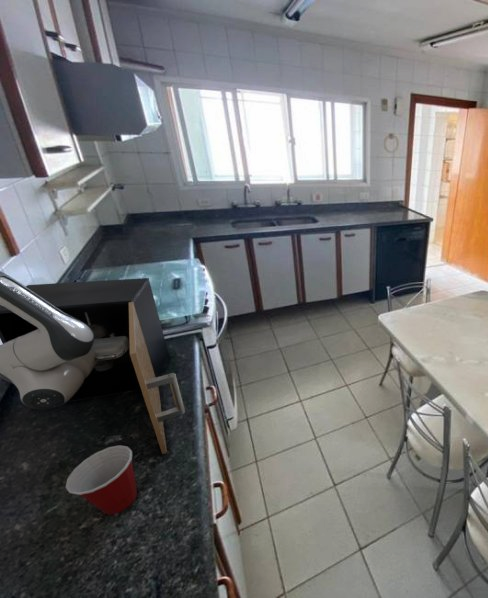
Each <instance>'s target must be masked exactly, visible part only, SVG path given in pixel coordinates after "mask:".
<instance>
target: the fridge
mask: <svg viewBox="0 0 488 598" xmlns="http://www.w3.org/2000/svg"><path fill="white" fill-rule="evenodd" d="M26 287H27V288H28V289H30V290H31V291H33V292H34V293H36V294H37V295H39V296H40V297H42V298H43V299H45V300H46V301H48V302H49V303H51V304H52V305H54V306H55V307H57V308H58V309H60V310H61V311H63V312H64V313H66V314H68V315H69V316H72V317H74V318H76V319H78V320H80V321H82V322H83V323H85V324H88V322H87V319H86V316H85V312H87V314H88V317H89V320H90V323H98V324H101V325H103V326H104V327H105V328H106V329H107V331H108V332H109V333H115V335H116V337H119V336H126V337H128V339H129V302H133V303H134V307H135V310H136V313H137V317H138V320H139V323H140V327H141V330H142V334H143V337H144V340H145V344H146V347H147V350H148V354H149V357H150V361H151V364H152V367H153V371H154V374H155V377H156V378H157V377H160V376H163V375H162V374H163V372H164V370H165V366H166V364H167V361H168V360H169V357H170V352H169V349H168V346H167V342H166V338H165V334H164V330H163V327H162V323H161V320H160V315H159V312H158V308H157V305H156V304H157V303H156V301H155V297H154V293H153V289H152V286H151V282H150V278H149V277H142V278H123V279H107V280H106V279H105V280H90V281H89V280H87V281H72V282H56V283H55V282H54V283H39V284H27V285H26ZM37 329H38V328H37V327H36V326H34V325H33V324H31V323H30V322H28V321H26V320H25V319H23V318H22V317H20V316H18V315H17V314H15V313H14V312H12V311H11V310H9V309H7V308H6V307H4V306H2V305H0V342H1V343H2V344H4V343H6V342H8V341H11V340H13V339H15V338H17V337H20V336H23V335H25V334H28V333H30V332H32V331H35V330H37ZM113 361H114V366H113V367H112V368H110V369H108V370H105V371H96V369H95V367H94V368H93V370H92V371H91V373H90V374H89V375H88V377H87V378H85V379H84V382H83V384H82V385H81V387H80V388H79V389H78V391H77V392H76V393H75V394H74V395H73V396H72V397H71V398H70V399H69V400H68V401H67V402H66V403H64V404H63V405H68V404H74V403H79V402H85V401H89V400H94V399H100V398H104V397H109V396H115V395H119V394H125V393H130V392H135V391H137V389H138V388H137V381H136V372H135V369H134V366H133V363H132V360H131V357H130V347H129V349H128V350H127V351H126V352H125V353H124V354H123V355H122V356H120V357H118V358H115V359H113Z"/></svg>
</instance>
